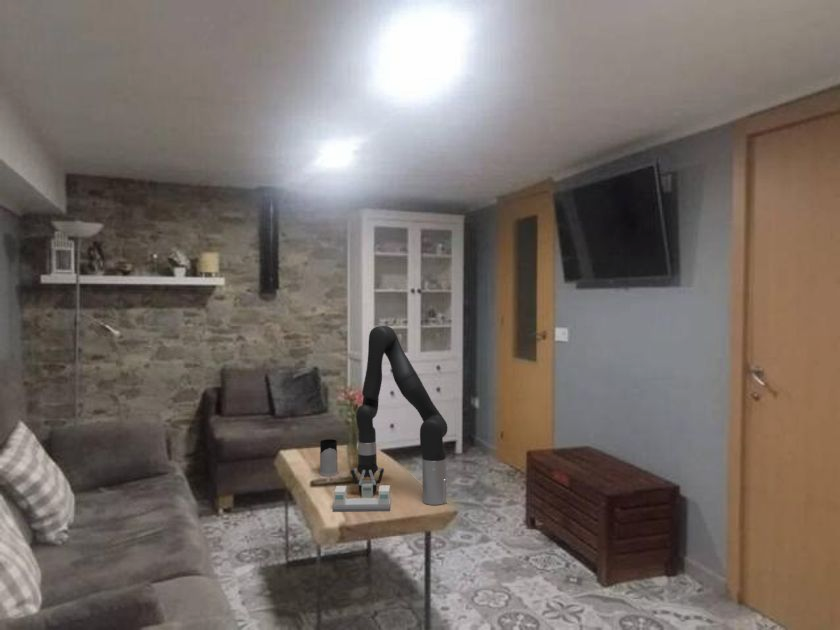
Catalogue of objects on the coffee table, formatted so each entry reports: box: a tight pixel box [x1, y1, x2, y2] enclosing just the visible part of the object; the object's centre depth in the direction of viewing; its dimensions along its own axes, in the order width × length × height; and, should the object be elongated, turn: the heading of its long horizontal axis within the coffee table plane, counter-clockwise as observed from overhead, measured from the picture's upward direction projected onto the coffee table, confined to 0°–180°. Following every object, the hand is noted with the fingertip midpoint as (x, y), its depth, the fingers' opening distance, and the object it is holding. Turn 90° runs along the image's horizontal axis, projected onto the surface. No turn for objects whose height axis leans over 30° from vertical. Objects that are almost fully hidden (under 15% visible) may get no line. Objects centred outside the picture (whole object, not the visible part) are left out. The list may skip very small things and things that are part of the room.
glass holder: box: [318, 438, 339, 477], centre depth 277 cm, size 9×14×15 cm, turn 16°
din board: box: [332, 484, 392, 513], centre depth 231 cm, size 22×12×7 cm, turn 91°
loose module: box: [361, 479, 374, 498], centre depth 244 cm, size 4×7×5 cm, turn 1°
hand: (367, 493), depth 244 cm, fingers closed on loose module, 4 cm apart
